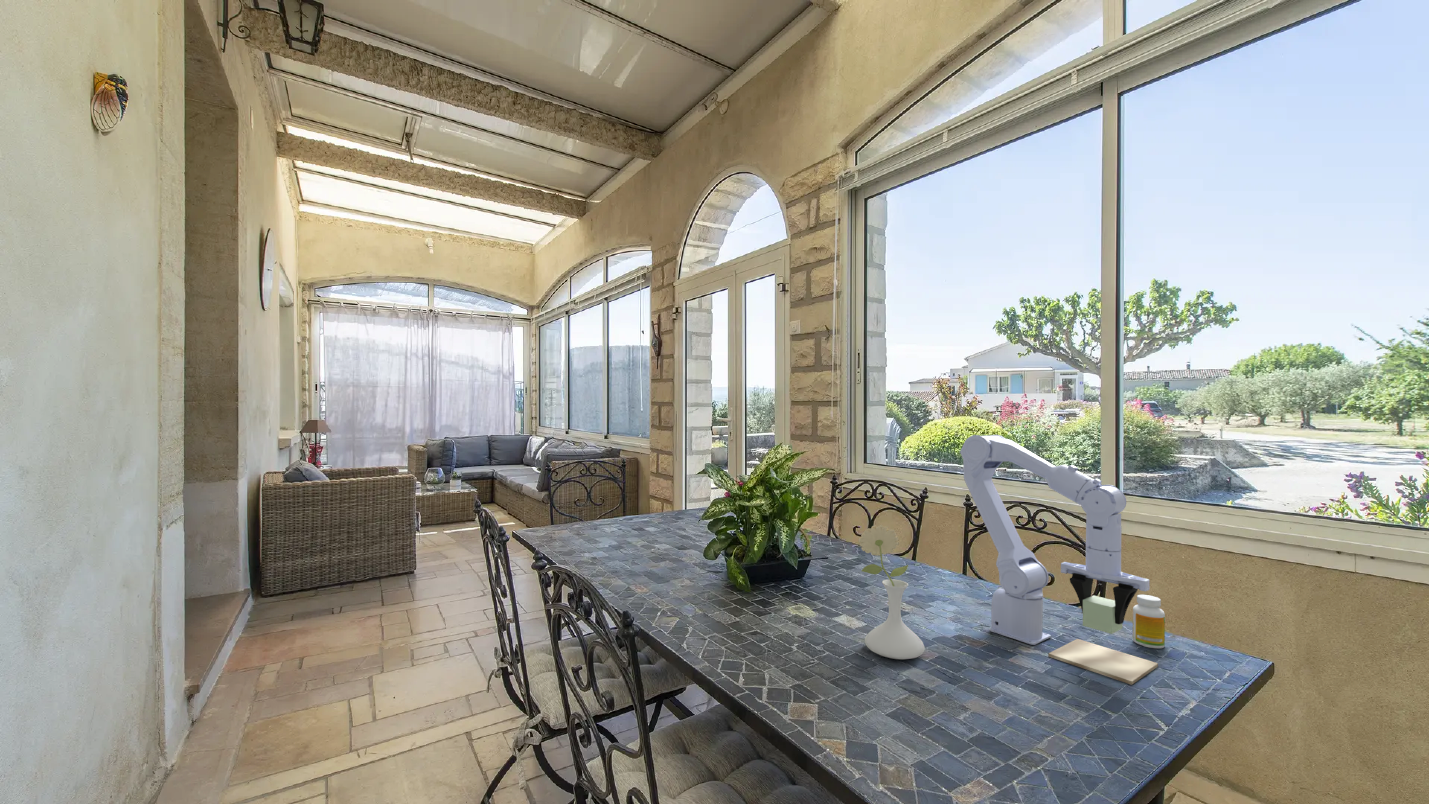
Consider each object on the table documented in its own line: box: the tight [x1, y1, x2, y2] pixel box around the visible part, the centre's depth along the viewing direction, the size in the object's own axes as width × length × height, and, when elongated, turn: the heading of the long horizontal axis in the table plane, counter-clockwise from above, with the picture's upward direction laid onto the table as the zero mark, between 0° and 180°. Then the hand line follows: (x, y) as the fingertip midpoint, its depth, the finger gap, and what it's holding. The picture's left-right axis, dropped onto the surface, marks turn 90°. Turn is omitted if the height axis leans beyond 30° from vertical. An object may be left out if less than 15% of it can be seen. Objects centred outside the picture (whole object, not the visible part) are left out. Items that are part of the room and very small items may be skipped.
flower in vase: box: [858, 524, 926, 660], centre depth 114 cm, size 13×11×25 cm
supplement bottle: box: [1132, 594, 1166, 649], centre depth 120 cm, size 5×5×10 cm
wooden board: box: [1048, 638, 1159, 686], centre depth 111 cm, size 14×13×1 cm
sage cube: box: [1082, 595, 1124, 635], centre depth 111 cm, size 5×5×5 cm
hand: (1102, 618), depth 111 cm, fingers closed on sage cube, 5 cm apart
